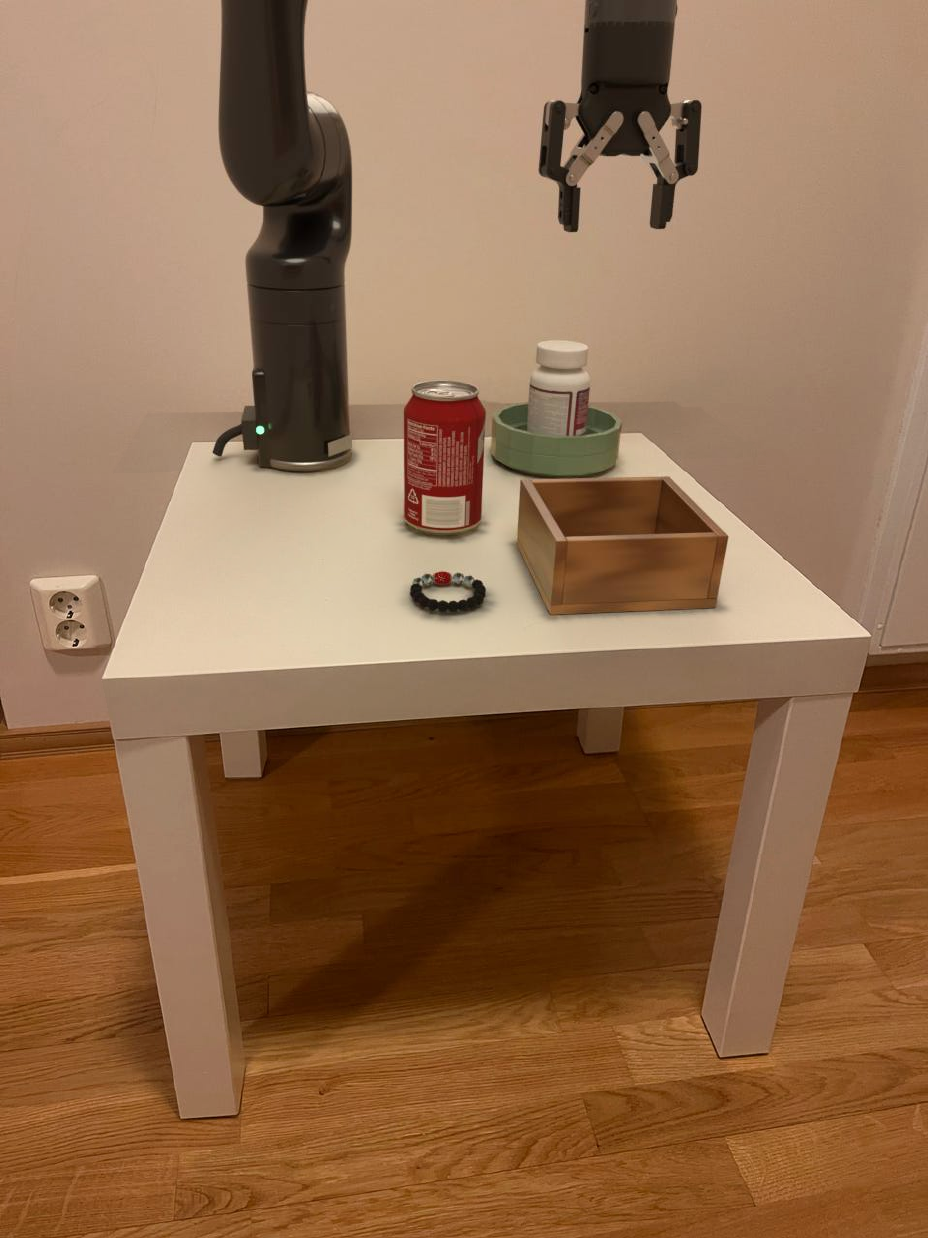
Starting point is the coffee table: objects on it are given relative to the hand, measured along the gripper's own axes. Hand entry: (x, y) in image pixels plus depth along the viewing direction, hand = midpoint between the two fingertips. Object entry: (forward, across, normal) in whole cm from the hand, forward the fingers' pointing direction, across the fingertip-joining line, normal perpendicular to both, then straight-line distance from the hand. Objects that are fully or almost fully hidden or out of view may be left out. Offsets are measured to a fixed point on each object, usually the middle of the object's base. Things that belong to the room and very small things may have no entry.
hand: (614, 229), depth 84 cm
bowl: (+23, +4, -3) cm, 23 cm away
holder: (+22, +8, +25) cm, 35 cm away
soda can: (+22, +19, +13) cm, 32 cm away
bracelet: (+22, +22, +27) cm, 41 cm away
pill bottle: (+22, +4, -3) cm, 23 cm away
